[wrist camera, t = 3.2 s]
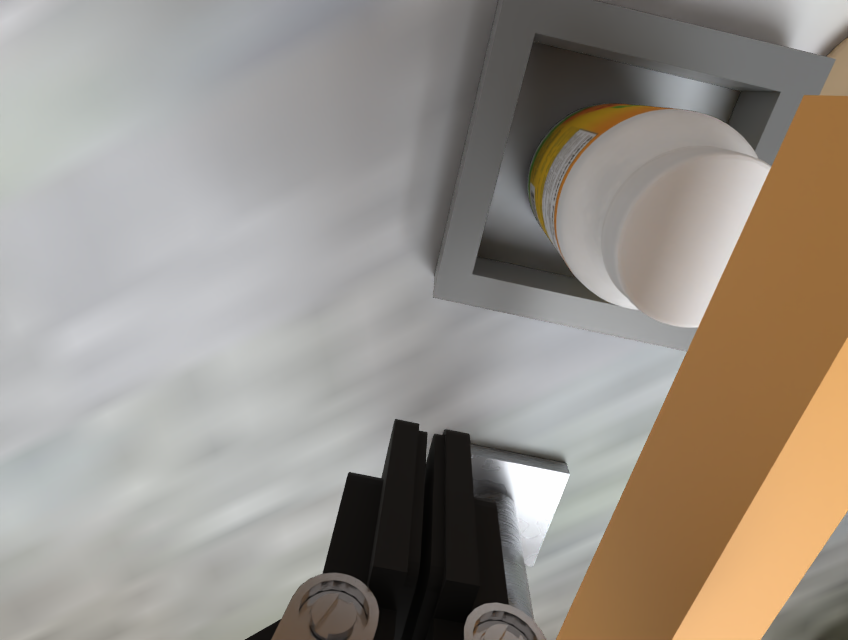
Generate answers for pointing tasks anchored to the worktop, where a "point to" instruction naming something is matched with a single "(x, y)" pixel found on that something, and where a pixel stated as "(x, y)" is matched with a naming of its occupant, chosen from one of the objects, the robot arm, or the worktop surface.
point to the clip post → (519, 508)
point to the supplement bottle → (645, 203)
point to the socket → (627, 43)
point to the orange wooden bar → (744, 423)
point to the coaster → (838, 72)
